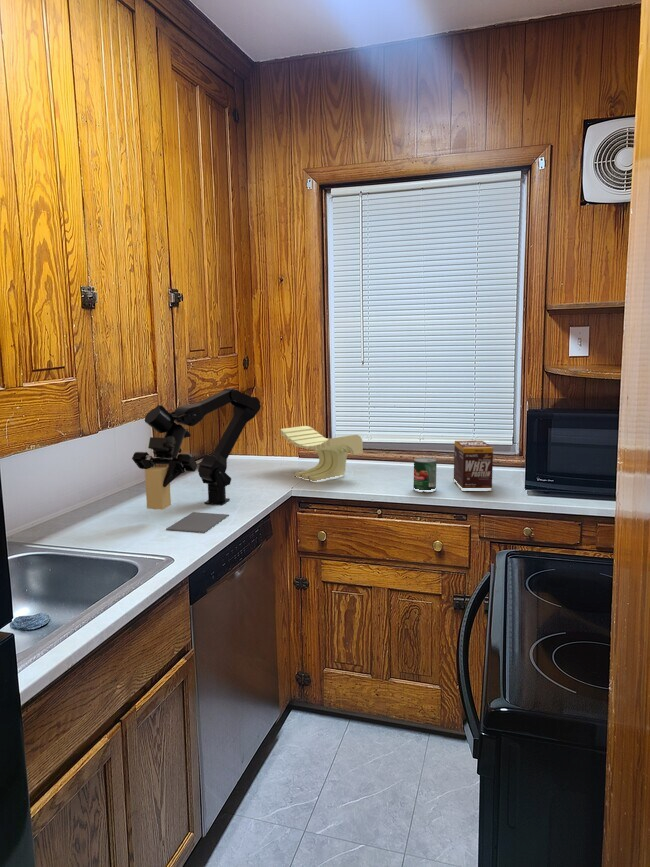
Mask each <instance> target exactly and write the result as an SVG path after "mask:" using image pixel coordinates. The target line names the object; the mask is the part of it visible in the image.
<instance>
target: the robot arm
mask: <svg viewBox="0 0 650 867" xmlns="http://www.w3.org/2000/svg"><path fill="white" fill-rule="evenodd" d="M228 404H230V405H231V406H232V407H233V408H232V410H233V411H232V414H233V417H232V418H231V420H230V422H229V423H228V425H227V427H226V428H225V431H224V433H223V434H222V436H221V438H220V440H219V441H218V444H217V445H216V447H215V448H214V451H213V452H212V453H211V454H204V455H203V456H202V460H200V462H199V463H198V464H197V462H196V459H195V458H194V457H193V455H192V454H191V453H182V451H183V450H182V449H181V446H182V444H183V442H184V441H183V440H184V439H187V438H190V437H192V436H191V432H190V431H189V428H185V427H184V426H186V427H194V426H196V425H197V424H199V423H200V422H201V421H202V420H203V419H204V417H205V416H206V415H208V414H210V413H212V412H214V411H216V410H218V409H220V408H223V407H224V406H225V405H228ZM261 406H262V405H261V402H260V399H259V398H258V397H256V396H252V395H251V396H250V395H248V394H246V393H244V392H241V391H239V390H237V389H236V388H230V387H227V388H224V389H223V390H222V391H219V392H217V393H215V394H213V395H212V396H209V397H207V398H205V399H202V400H201V401H199V402H196V403H190V404H184V405H181V406H177V407H176V408H175V409H174V411H171V412H169V411H168V410H167V409H166V408H165V407H164V406H163V405H160V404H157V405H156V407H154V408H152V409H150V411H149V412H147V413H146V415H145V417H144V423H146V424H147V425H148V426H150V427H151V428H152V429H153V430H154V431H156V432H157V433H158V434H163V433H164V435H163V437H149V443H148V449H151V450H153V451H152V453H153V454H154V455H155V456H152V455H150V454H149V453H148V451H135V452H133V455H132V457H131V460H132V461H133V462H134V464H135V465H136V466H137V467H138V468H139V469H141V470H146V469H148V468H151V467H153V466H156V465H166V466H168V467H169V469H168V471H167V474H166V476H165V479H164V482H163V487H166V486H167V485H168V484H169V483H170V484H171V483H172V482H173V481H174V480H175V479H176V478H178V477H179V476H180V475H181V474H185V473H186V472H195V471H196V470H197V471H198V472H197V473H198V476H199V478H201V481H202V483H203V484H206V485H207V496H208V497H207V498H208V499H207V500H205V501H204V502H203V503H204V504H205V505H219V506H222V505H225V504H226V503H227V502H230V498H229V497H227V494H226V493H227V491H226V487H227V486H229V485H231V483H232V477H231V476H230V475H228V473H227V472H226V471H227V469H228V465H227V463H228V462H227V460H228V458H229V457H230V454H231V452H232V450H233V448H234V447H235V445H236V443H237V441H238V440H239V437H240V435H241V434H242V432H243V430H244V428H245V426H247V425H246V424H248V422H250V421H251V420H253V419H254V418H255V417H256V415H257V414H258V413H259V412H260V410H261ZM197 467H198V469H197Z"/></svg>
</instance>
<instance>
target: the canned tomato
mask: <svg viewBox="0 0 650 867" xmlns="http://www.w3.org/2000/svg"><path fill="white" fill-rule="evenodd" d="M414 488H415V489H419V490H431V489H435V488H436V489H437V458H434V457H426V456H425V457H423V456H421V457H416V458H414V459H413V489H414Z"/></svg>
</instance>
